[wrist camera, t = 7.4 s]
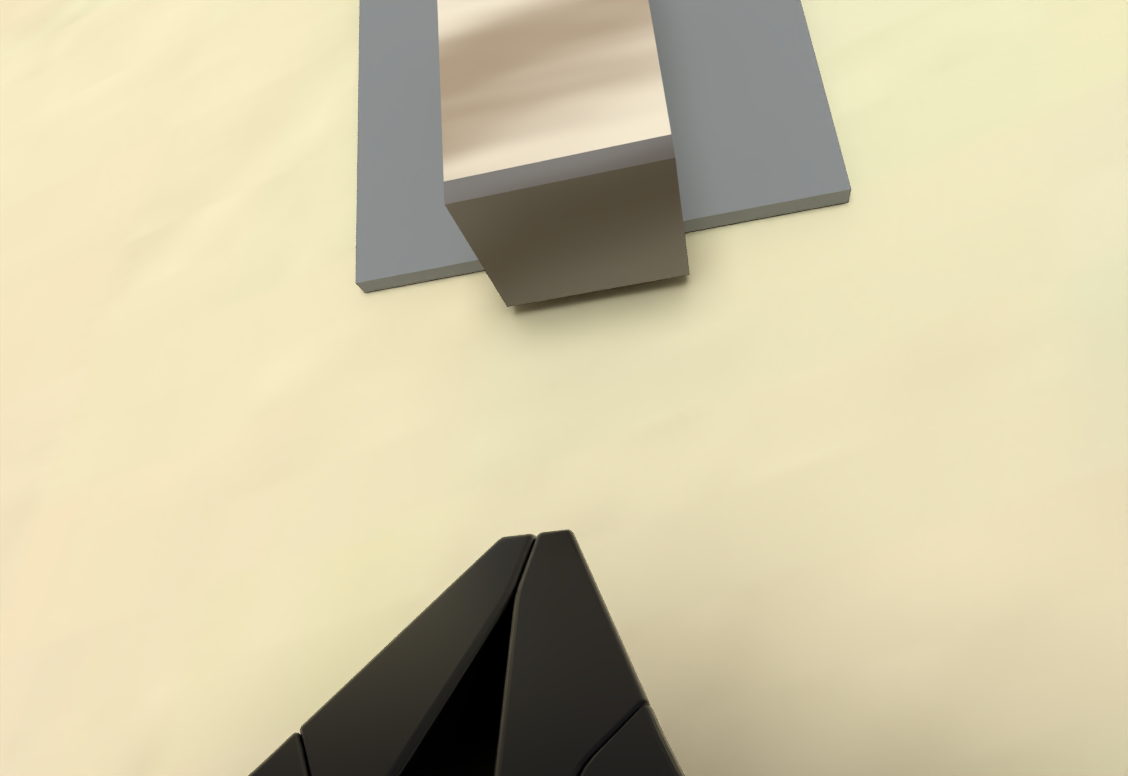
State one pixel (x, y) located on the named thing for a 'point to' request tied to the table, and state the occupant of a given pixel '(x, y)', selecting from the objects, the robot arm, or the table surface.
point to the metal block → (559, 145)
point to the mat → (695, 109)
